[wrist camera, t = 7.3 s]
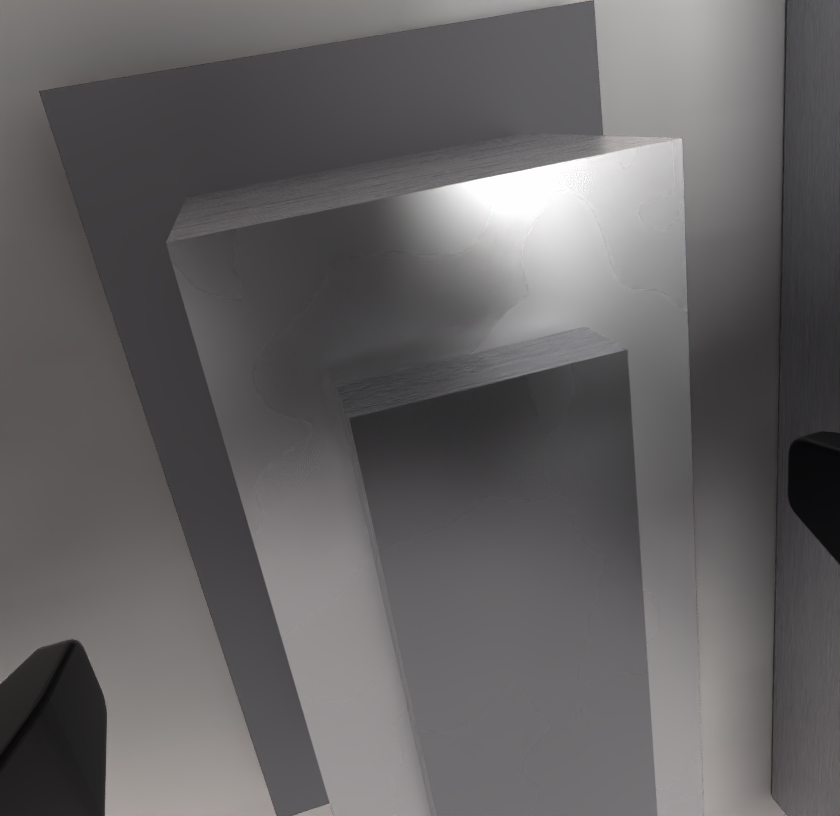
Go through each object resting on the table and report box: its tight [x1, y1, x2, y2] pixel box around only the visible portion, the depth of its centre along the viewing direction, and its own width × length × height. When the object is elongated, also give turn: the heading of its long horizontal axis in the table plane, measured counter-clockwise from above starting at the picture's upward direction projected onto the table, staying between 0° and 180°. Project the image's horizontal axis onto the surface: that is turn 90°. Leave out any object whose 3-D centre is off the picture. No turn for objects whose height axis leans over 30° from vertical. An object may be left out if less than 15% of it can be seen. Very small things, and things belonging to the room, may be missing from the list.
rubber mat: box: [39, 0, 603, 816], centre depth 12 cm, size 12×7×1 cm, turn 10°
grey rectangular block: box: [166, 133, 704, 816], centre depth 10 cm, size 9×4×5 cm, turn 10°
